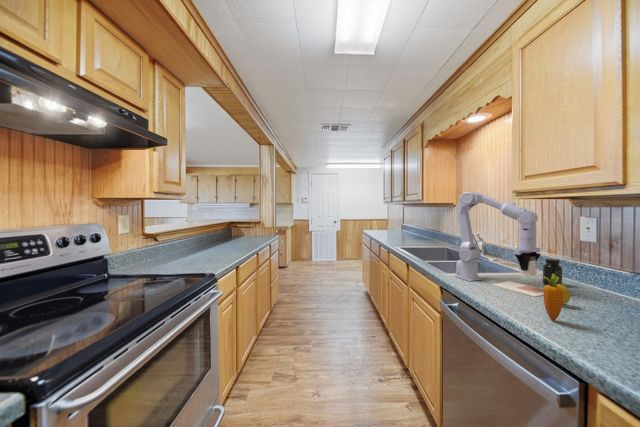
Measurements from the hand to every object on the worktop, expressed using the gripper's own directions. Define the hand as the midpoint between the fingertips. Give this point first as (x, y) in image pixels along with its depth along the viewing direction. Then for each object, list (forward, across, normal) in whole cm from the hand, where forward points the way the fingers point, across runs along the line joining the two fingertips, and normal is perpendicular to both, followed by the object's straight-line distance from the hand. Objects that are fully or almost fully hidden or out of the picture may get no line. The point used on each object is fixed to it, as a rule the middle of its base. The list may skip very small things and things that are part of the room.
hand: (527, 269), depth 116 cm
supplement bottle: (+9, +19, 0) cm, 21 cm away
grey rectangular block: (+2, 0, 0) cm, 2 cm away
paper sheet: (+9, 0, +2) cm, 9 cm away
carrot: (+9, -26, -23) cm, 36 cm away
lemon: (+9, -8, -16) cm, 20 cm away
